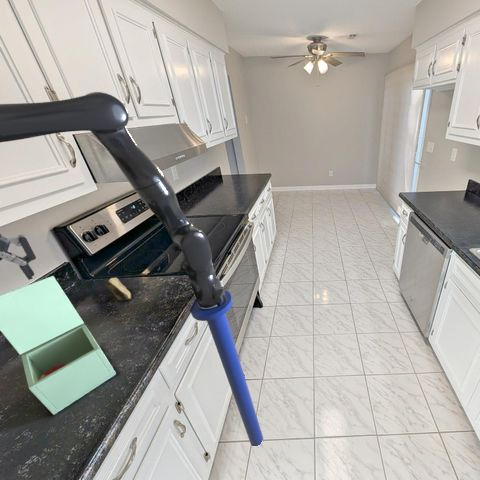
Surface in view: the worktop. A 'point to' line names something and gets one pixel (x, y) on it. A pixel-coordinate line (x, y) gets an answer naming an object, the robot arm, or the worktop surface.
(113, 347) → the worktop surface
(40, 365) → the chest
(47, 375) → the onion
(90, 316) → the worktop surface
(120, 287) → the rock
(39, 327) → the lid
